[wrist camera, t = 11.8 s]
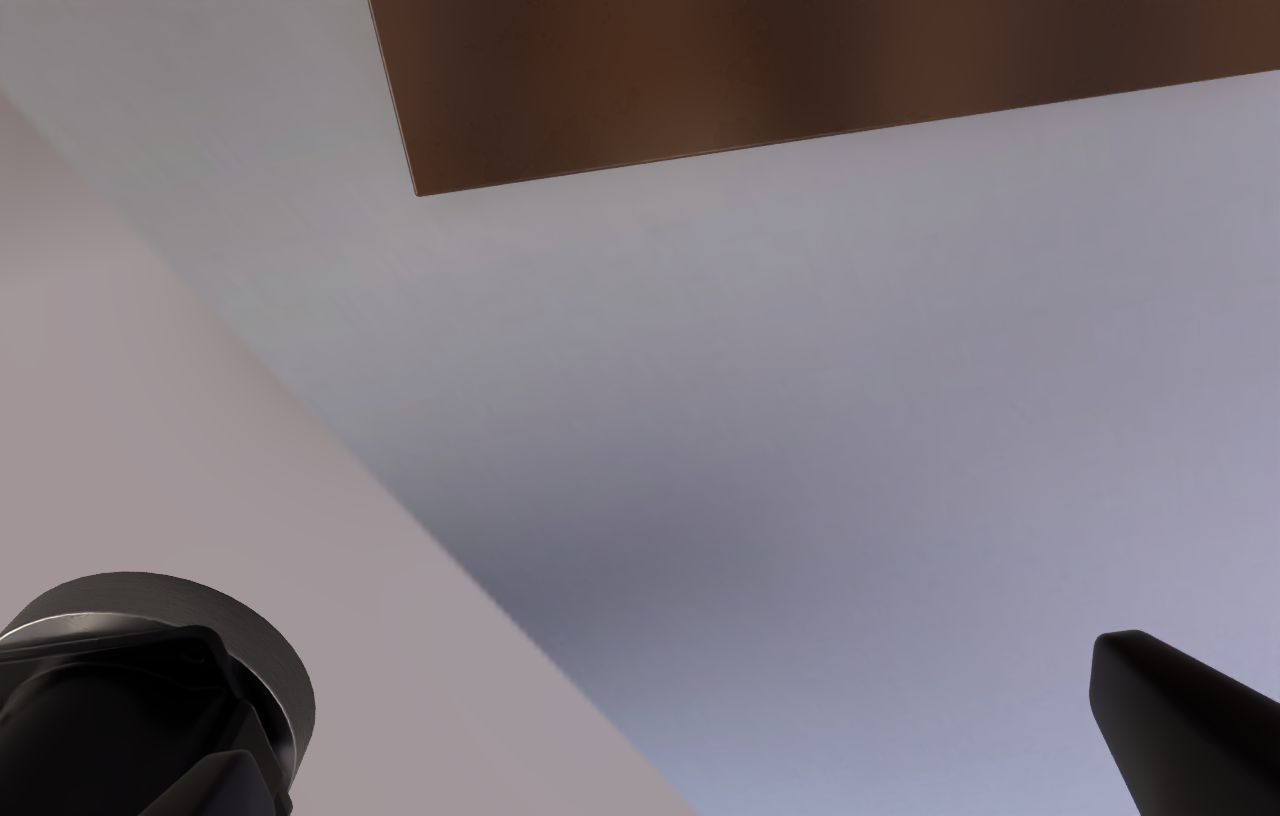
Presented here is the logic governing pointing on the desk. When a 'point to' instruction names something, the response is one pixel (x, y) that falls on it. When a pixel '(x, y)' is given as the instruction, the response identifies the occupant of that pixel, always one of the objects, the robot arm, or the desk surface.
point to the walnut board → (763, 71)
